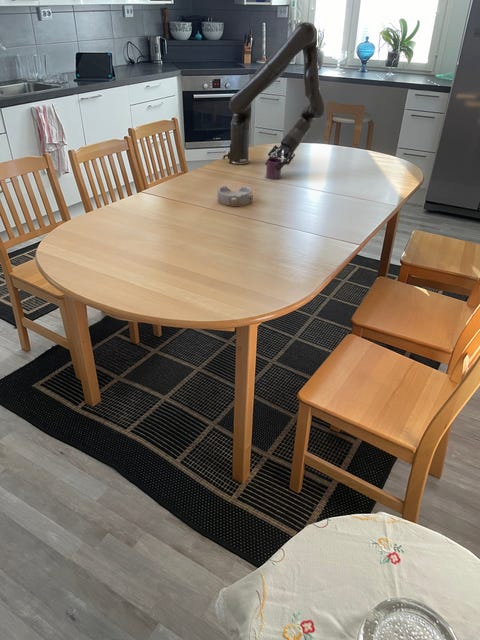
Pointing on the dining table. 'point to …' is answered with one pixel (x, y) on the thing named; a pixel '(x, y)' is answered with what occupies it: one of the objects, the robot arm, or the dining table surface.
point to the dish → (235, 196)
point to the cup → (273, 168)
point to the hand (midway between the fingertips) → (271, 167)
